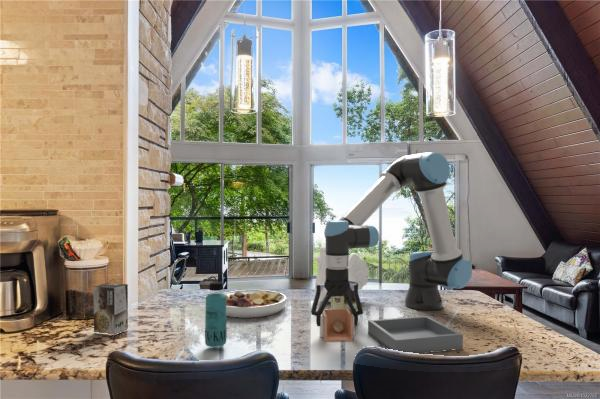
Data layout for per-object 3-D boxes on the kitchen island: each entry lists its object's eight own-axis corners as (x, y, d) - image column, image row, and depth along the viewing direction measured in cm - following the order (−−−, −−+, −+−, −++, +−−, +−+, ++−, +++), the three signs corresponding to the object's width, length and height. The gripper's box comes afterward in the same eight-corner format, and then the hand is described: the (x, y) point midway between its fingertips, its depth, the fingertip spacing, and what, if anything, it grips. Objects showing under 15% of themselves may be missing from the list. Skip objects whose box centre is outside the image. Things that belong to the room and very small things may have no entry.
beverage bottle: (206, 344, 125) (206, 280, 125) (228, 344, 126) (228, 279, 126) (203, 352, 119) (203, 284, 119) (226, 352, 120) (226, 284, 120)
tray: (427, 328, 141) (427, 315, 141) (462, 349, 122) (462, 334, 122) (368, 333, 136) (368, 320, 136) (395, 355, 117) (395, 340, 117)
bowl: (221, 300, 182) (221, 282, 182) (288, 301, 181) (288, 283, 181) (203, 320, 152) (203, 299, 152) (283, 321, 151) (283, 300, 151)
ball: (338, 332, 137) (343, 322, 138) (342, 335, 134) (347, 325, 134) (329, 328, 136) (334, 318, 137) (333, 331, 133) (338, 321, 134)
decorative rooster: (316, 307, 170) (316, 247, 170) (312, 298, 185) (313, 243, 185) (375, 306, 171) (375, 247, 171) (367, 297, 187) (367, 243, 187)
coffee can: (359, 318, 154) (359, 281, 154) (357, 326, 144) (357, 286, 144) (332, 316, 156) (332, 279, 156) (328, 324, 146) (328, 285, 146)
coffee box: (128, 331, 139) (128, 283, 139) (114, 337, 132) (114, 287, 132) (107, 328, 142) (107, 282, 142) (92, 334, 135) (92, 285, 135)
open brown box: (321, 332, 138) (321, 309, 138) (347, 332, 138) (347, 308, 138) (324, 341, 129) (324, 316, 129) (352, 341, 129) (352, 316, 129)
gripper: (304, 269, 129) (303, 340, 129) (373, 269, 130) (372, 338, 130) (302, 265, 137) (302, 332, 136) (367, 265, 138) (367, 331, 138)
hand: (336, 335), depth 133 cm, fingers open, 10 cm apart
